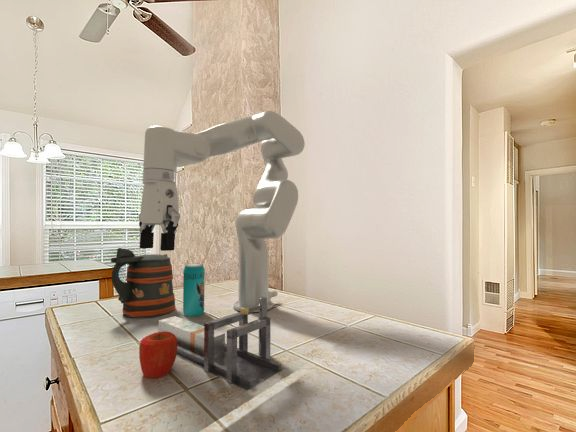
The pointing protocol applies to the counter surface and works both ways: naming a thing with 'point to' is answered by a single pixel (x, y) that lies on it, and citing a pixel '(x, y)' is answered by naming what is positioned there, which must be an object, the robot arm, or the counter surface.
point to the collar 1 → (209, 336)
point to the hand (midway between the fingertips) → (156, 249)
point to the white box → (192, 335)
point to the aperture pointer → (262, 313)
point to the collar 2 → (242, 330)
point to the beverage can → (193, 290)
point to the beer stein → (144, 284)
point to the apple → (157, 354)
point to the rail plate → (248, 366)
